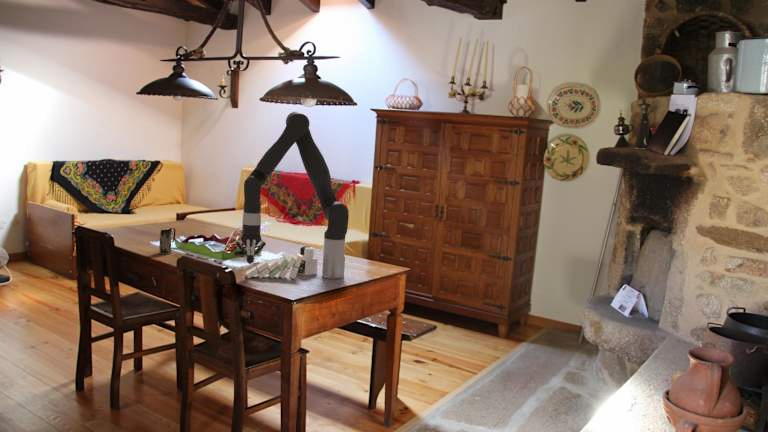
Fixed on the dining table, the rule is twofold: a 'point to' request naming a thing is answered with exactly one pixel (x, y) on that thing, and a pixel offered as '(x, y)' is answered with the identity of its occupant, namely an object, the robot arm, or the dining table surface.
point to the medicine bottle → (307, 261)
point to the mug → (166, 241)
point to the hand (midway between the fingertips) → (250, 263)
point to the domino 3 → (279, 267)
